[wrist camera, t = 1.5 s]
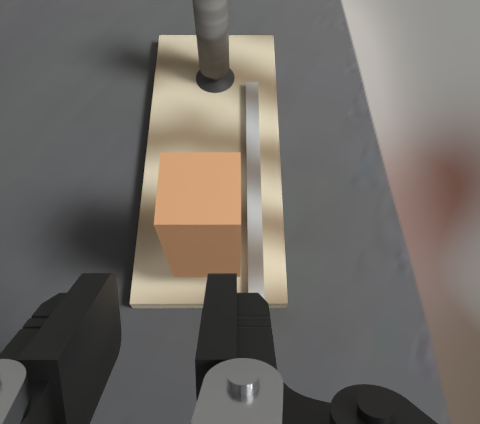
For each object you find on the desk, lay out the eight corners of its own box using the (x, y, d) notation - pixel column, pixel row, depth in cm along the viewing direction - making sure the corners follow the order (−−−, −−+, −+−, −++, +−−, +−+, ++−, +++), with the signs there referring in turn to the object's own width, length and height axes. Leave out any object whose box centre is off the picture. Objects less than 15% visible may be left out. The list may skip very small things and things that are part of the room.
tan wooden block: (240, 286, 29) (241, 224, 21) (177, 286, 29) (153, 224, 21) (240, 229, 30) (240, 152, 23) (180, 229, 30) (160, 152, 22)
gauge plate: (286, 307, 29) (307, 247, 21) (132, 308, 29) (87, 248, 21) (272, 44, 41) (282, -69, 32) (161, 44, 40) (139, -69, 32)
